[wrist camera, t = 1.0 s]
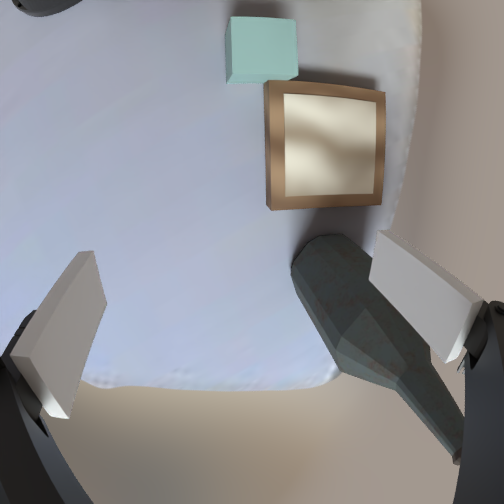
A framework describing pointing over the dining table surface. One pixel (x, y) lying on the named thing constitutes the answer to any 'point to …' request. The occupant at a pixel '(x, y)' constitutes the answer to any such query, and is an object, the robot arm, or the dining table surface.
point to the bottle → (373, 334)
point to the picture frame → (323, 145)
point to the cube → (260, 50)
